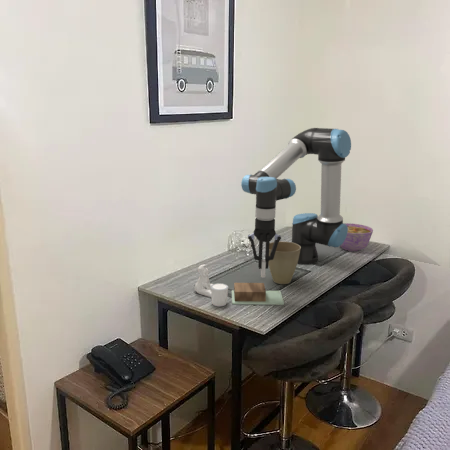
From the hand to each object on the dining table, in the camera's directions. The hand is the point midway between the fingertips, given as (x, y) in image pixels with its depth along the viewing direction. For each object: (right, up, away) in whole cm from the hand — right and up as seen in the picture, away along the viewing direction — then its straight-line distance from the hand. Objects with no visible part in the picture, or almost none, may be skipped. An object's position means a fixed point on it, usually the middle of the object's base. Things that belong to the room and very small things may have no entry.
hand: (262, 276), depth 179 cm
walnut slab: (+1, -7, +2) cm, 7 cm away
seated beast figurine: (-23, -8, +7) cm, 25 cm away
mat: (-2, -9, +3) cm, 10 cm away
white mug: (-17, -10, -2) cm, 20 cm away
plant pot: (+10, -5, +20) cm, 23 cm away
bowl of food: (+53, +7, +64) cm, 83 cm away
